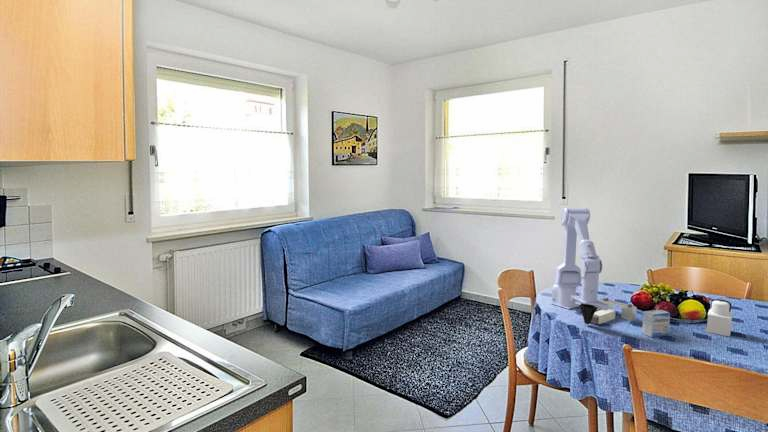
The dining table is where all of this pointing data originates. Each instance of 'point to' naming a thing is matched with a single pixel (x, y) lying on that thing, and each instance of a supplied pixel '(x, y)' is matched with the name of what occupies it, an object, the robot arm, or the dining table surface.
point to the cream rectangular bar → (603, 316)
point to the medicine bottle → (719, 318)
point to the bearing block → (627, 310)
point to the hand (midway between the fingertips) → (587, 323)
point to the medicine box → (656, 323)
